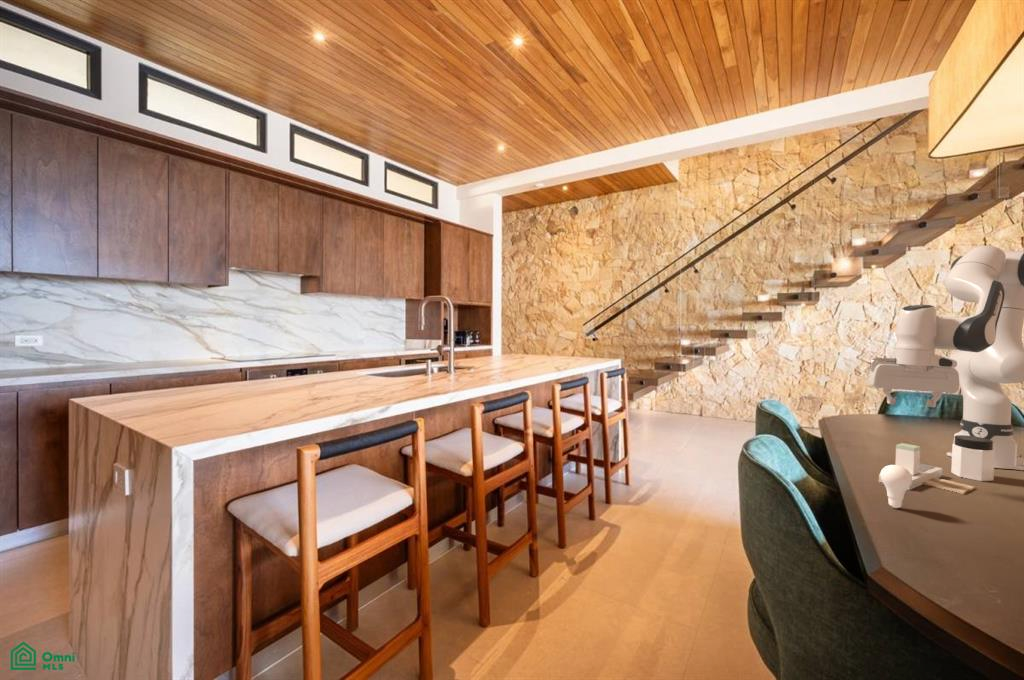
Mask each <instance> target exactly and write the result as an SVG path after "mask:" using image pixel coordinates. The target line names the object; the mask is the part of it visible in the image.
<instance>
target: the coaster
mask: <svg viewBox="0 0 1024 680" xmlns="http://www.w3.org/2000/svg"><path fill="white" fill-rule="evenodd" d="M922 485H925V486H928V487H931V486H932V487H933V488H936V489H940V488H941V490H944V489H945V490H944V491H948V490H949V491H948V492H952V491H953V493H956V492H957V494H959V495H960V494H961V495H965V494H968V493H969V492H971V491H973V490H975V489H976V486H973V485H969V484H965V483H961V482H956V481H952V480H949V479H943V478H941V477H939V478H936V477H935V478H932V479H930V480H927V481H925V482H923V484H922Z"/></svg>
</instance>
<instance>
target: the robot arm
mask: <svg viewBox="0 0 1024 680" xmlns="http://www.w3.org/2000/svg"><path fill="white" fill-rule="evenodd" d="M943 282H944V284H943V285H944V287H945V289H946V291H947V292H948V294H949V295H951V296H952V297H954V298H955V299H957V300H960V301H962V302H963V301H964V302H968V303H975V304H976V310H975V313H974V314H972V315H967V316H957V317H956V316H955V317H954V316H953V317H952V316H947V317H946V316H944V317H943V316H939V315H937V312H936V307H935V306H934V305H932V304H930V305H929V304H915V305H906V306H904V307H902V308H900V310H899V313H898V316H897V321H896V325H895V326H896V327H895V336H896V344H895V346H894V352H893V353H894V355H893V356H894V357H877V358H875V359H873V360H871V362H870V367H869V368H870V373H869V378H868V385H869V386H871V387H872V388H874V389H882V392H883V394H884V395H885V397H886V403H887V404H889V405H896V401H897V399H896V398H894V397H892V394H891V393H892V392H893V390H902V391H903V390H904V391H916V392H918V391H919V392H931V395H932V397H931V398H930V399H928V400H927V399H926V404H925V405H926V407H928V408H936V407H937V402H938V401H939V400H940V399H941V397H942V396H943V393H946V394H947V393H948V394H956V393H957V392H958V391H959V390H961V394H962V401H963V403H962V418H961V419H960V423H959V424H960V429H961V430H960V431H958V432H956V433H954V436H953V441H954V440H955V436H957V435H965V436H974V437H981V438H986V439H989V440H992V441H993V450H995V457H994V469H1003V470H1006V469H1007V470H1016V471H1017V470H1018V471H1024V458H1022V454H1021V453H1018V442H1017V441H1016V440H1015V438H1014V437H1013V435H1014V428H1013V424H1012V400H1011V399H1010V398H1009V397H1008V395H1006V394H1005V392H1004V390H1003V388H1002V387H1001V384H1020V383H1024V344H1023V337H1022V334H1023V324H1024V251H1023V250H1002V249H1001V248H999V247H997V246H994V245H979V246H976V247H972V248H971V249H970V250H968V251H966V253H965V254H964V255H960V256H958V257H957V258H955V259H954V260H953V261H952V262H951V266H950V269H949V271H948V273H947V275H946V276H945V279H944V281H943ZM936 350H949V351H950V350H951V351H954V352H953V353H952V354H951V355H950V356H949V357H945V356H941V355H939V354H936ZM952 444H954V442H953V443H952ZM946 456H948V457H951V458H952V451H948V452H946Z"/></svg>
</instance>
